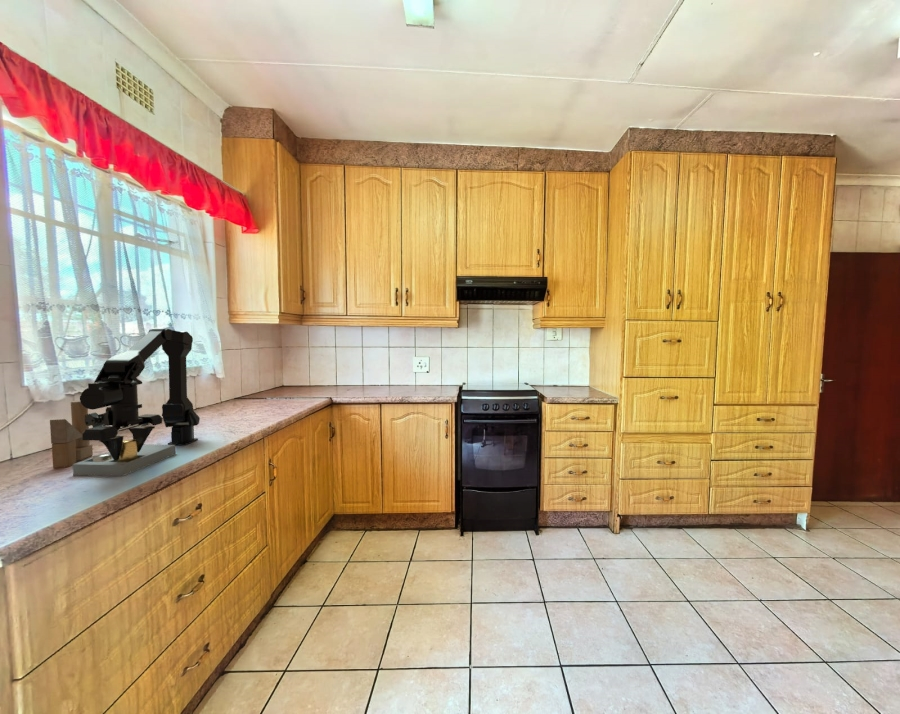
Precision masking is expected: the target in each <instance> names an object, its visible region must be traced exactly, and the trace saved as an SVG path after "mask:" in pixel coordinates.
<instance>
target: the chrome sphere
mask: <svg viewBox="0 0 900 714" xmlns="http://www.w3.org/2000/svg"><path fill="white" fill-rule="evenodd" d="M92 458H93V462H104V461H107V460H110V459H113V458H112V456H111V454H110V453H108V452H103V453H98V454H95V455H92Z"/></svg>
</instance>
